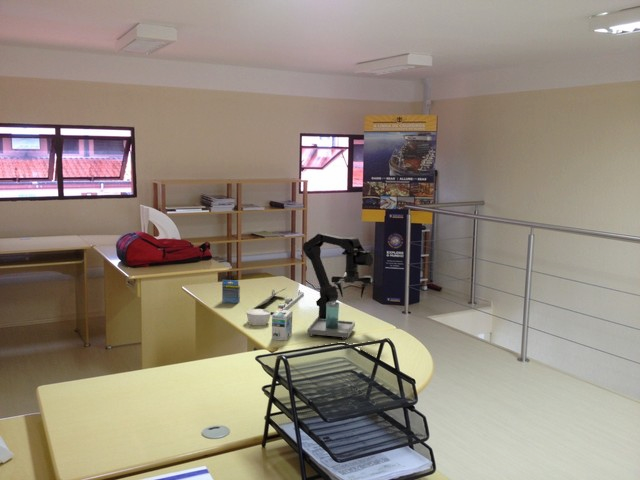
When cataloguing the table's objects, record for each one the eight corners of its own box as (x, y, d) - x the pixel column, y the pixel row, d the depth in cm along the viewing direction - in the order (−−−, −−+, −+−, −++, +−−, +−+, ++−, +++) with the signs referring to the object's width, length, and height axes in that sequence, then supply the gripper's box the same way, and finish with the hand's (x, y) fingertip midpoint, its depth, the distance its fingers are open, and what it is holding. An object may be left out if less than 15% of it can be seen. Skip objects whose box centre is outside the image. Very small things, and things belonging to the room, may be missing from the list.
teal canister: (323, 327, 267) (324, 303, 266) (330, 324, 272) (331, 300, 270) (333, 329, 264) (334, 305, 262) (340, 327, 268) (341, 303, 267)
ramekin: (275, 323, 281) (275, 312, 280) (255, 327, 274) (255, 316, 273) (261, 318, 289) (261, 307, 289) (241, 321, 282) (242, 310, 281)
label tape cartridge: (240, 301, 319) (240, 278, 318) (238, 303, 315) (238, 280, 314) (223, 300, 320) (224, 278, 318) (221, 302, 316) (222, 279, 315)
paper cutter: (303, 296, 337) (304, 286, 336) (279, 316, 294) (280, 305, 293) (273, 293, 341) (273, 284, 341) (245, 313, 298) (245, 302, 297)
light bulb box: (286, 340, 256) (286, 316, 254) (271, 339, 257) (271, 315, 256) (292, 333, 266) (293, 310, 265) (277, 332, 268) (278, 308, 266)
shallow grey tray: (307, 337, 261) (307, 329, 261) (316, 326, 279) (316, 318, 278) (348, 341, 258) (348, 333, 257) (354, 329, 275) (354, 321, 275)
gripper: (328, 266, 275) (329, 300, 277) (369, 267, 271) (369, 301, 273) (333, 263, 286) (334, 295, 288) (372, 264, 282) (372, 296, 284)
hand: (352, 297), depth 283 cm, fingers open, 9 cm apart
